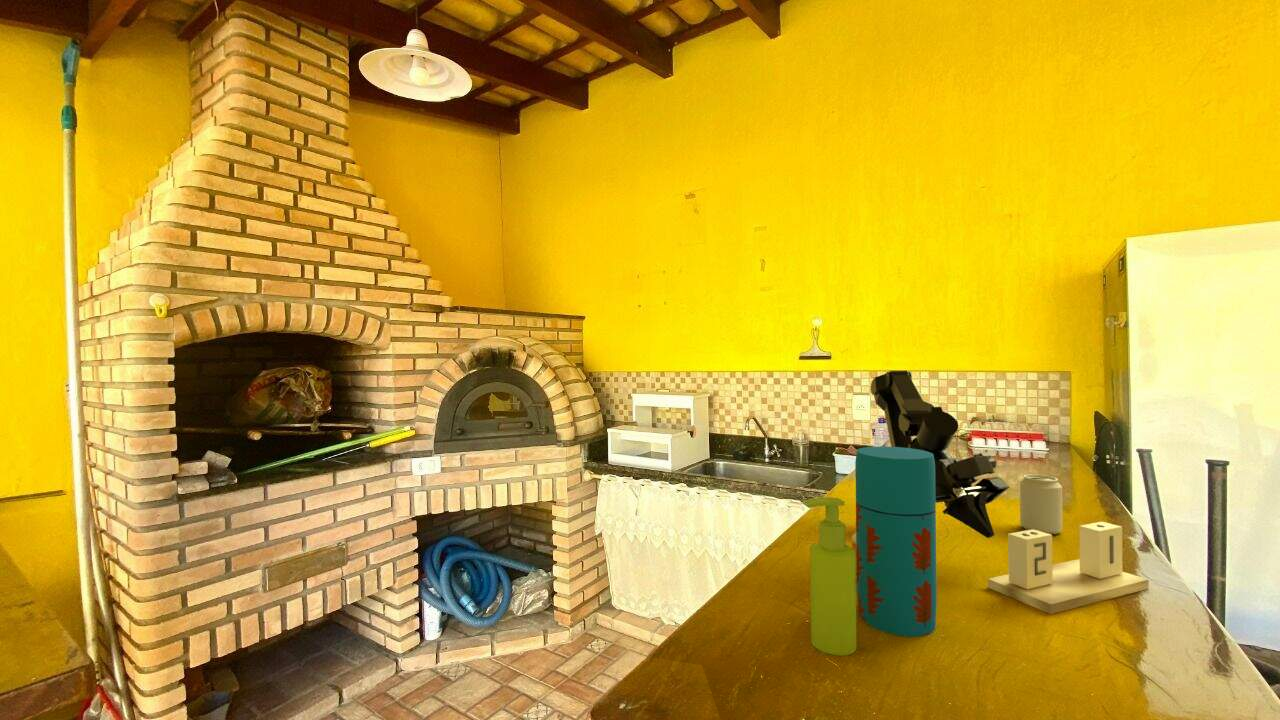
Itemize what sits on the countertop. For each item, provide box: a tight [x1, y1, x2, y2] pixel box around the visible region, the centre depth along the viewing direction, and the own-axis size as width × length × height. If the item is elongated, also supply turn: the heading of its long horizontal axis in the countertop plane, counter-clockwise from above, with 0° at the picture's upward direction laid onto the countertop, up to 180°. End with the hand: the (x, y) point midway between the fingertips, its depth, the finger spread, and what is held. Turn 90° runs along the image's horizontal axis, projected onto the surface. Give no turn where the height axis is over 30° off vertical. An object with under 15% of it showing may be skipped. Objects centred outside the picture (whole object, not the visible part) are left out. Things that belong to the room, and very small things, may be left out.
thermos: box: [854, 446, 938, 638], centre depth 80 cm, size 11×11×25 cm
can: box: [1019, 473, 1063, 535], centre depth 118 cm, size 8×8×12 cm
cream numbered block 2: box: [1007, 529, 1053, 589], centre depth 88 cm, size 3×6×8 cm, turn 110°
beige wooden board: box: [987, 558, 1150, 615], centre depth 89 cm, size 10×24×2 cm, turn 110°
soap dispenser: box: [801, 496, 857, 656], centre depth 73 cm, size 6×7×20 cm
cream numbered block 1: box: [1078, 521, 1124, 579], centre depth 91 cm, size 3×6×8 cm, turn 110°
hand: (991, 536), depth 94 cm, fingers closed
